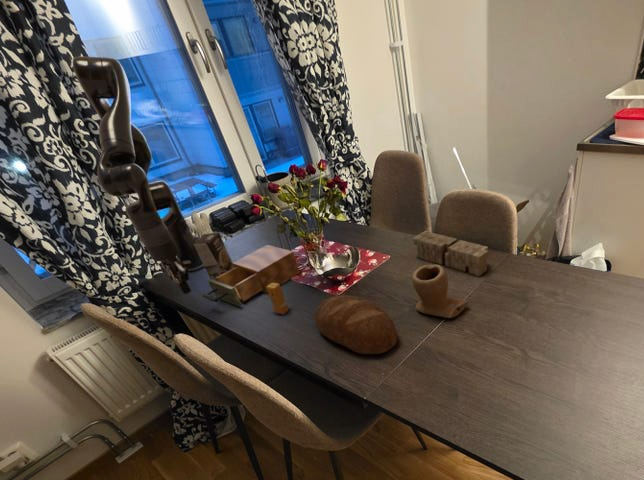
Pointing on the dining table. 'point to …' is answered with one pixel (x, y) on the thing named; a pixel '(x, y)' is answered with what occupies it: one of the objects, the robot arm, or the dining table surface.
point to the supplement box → (277, 298)
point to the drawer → (235, 286)
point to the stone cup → (435, 292)
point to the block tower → (452, 252)
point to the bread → (356, 324)
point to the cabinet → (270, 265)
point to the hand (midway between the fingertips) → (187, 292)
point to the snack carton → (306, 254)
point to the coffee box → (213, 255)
